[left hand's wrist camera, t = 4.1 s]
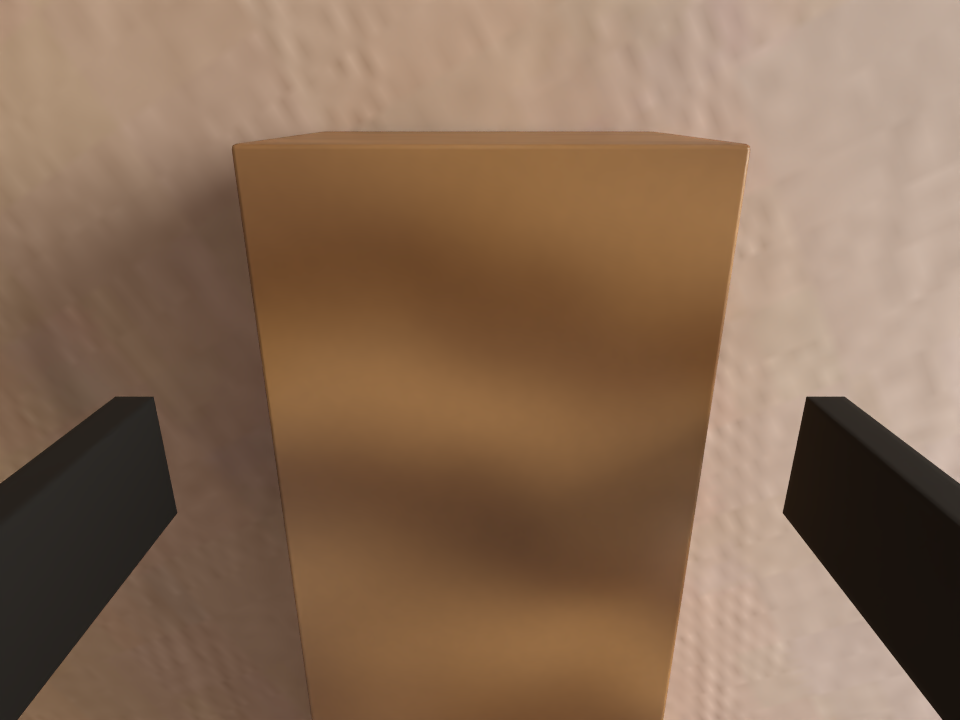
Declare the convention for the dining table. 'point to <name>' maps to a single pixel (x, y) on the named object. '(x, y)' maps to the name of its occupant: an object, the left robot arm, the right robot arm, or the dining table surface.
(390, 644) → the slab
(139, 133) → the dining table surface
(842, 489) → the left robot arm
